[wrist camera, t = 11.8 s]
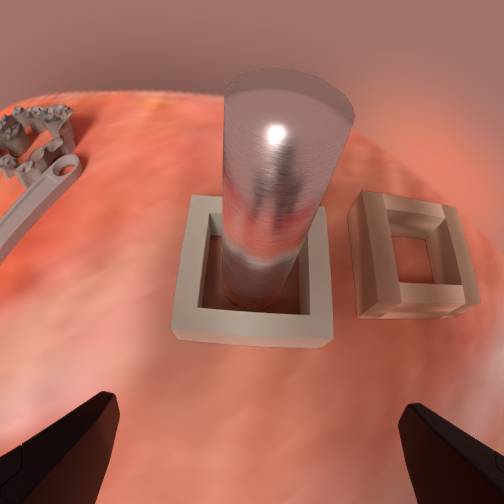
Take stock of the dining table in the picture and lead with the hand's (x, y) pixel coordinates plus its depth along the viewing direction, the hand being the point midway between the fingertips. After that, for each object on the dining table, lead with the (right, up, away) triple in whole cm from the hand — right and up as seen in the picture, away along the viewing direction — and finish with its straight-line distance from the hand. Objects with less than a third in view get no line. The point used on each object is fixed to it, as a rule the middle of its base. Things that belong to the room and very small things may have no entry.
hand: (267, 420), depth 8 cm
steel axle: (0, +3, +11) cm, 11 cm away
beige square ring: (+10, +4, +12) cm, 16 cm away
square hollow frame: (0, +3, +11) cm, 11 cm away
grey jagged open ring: (-21, +14, +15) cm, 29 cm away
